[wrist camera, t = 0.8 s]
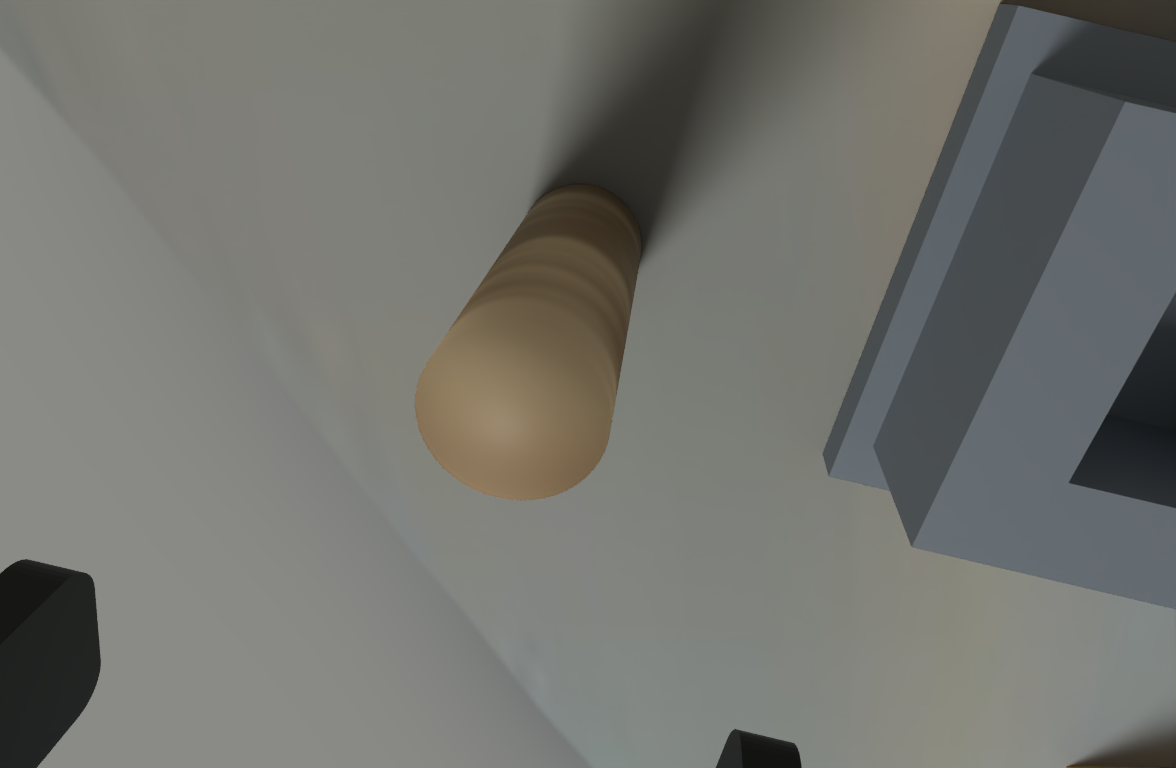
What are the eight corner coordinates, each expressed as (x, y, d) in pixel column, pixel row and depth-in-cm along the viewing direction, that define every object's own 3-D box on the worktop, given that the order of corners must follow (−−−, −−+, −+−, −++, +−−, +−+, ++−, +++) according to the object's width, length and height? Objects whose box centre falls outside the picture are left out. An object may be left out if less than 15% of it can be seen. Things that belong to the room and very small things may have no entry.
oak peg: (532, 171, 27) (427, 303, 16) (654, 199, 27) (630, 351, 16) (512, 286, 29) (405, 475, 18) (626, 313, 29) (588, 519, 18)
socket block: (999, 3, 23) (1112, 14, 17) (1494, 118, 23) (1791, 171, 17) (822, 453, 30) (857, 580, 24) (1205, 543, 30) (1341, 694, 24)
